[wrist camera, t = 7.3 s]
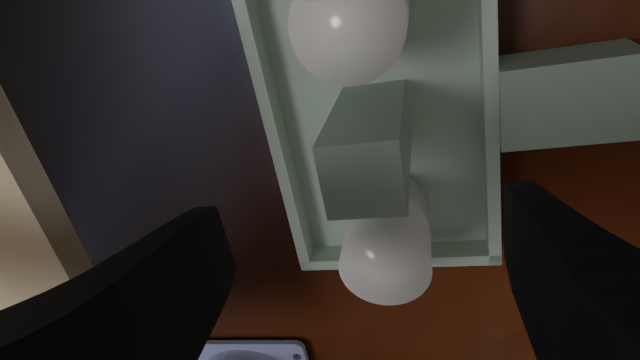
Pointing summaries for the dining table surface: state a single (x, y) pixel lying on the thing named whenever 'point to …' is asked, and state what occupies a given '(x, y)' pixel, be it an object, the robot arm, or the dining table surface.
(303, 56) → the white egg
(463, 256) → the tray
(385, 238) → the grey rounded piece
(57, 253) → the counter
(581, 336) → the robot arm
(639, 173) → the dining table surface
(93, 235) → the dining table surface
